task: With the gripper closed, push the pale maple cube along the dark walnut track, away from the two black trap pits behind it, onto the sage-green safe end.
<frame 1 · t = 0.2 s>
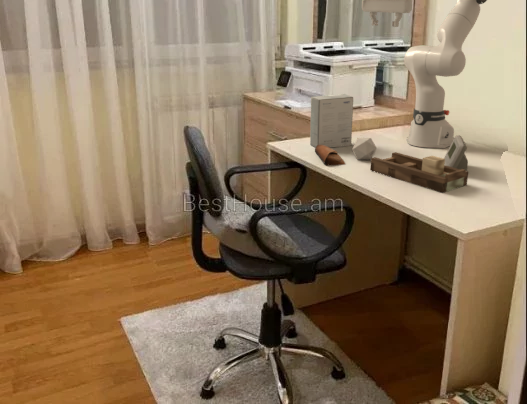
hand: (384, 26, 203), 48 cm above the table, tool pointing down, fingers open, 8 cm apart
sunglasses case: (329, 160, 216), on the table
die: (363, 159, 216), on the table
maple cube: (432, 173, 189), point 3 cm above the table, touching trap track
digital clock: (452, 169, 204), on the table
hard drive box: (330, 145, 235), on the table
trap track: (416, 177, 194), on the table
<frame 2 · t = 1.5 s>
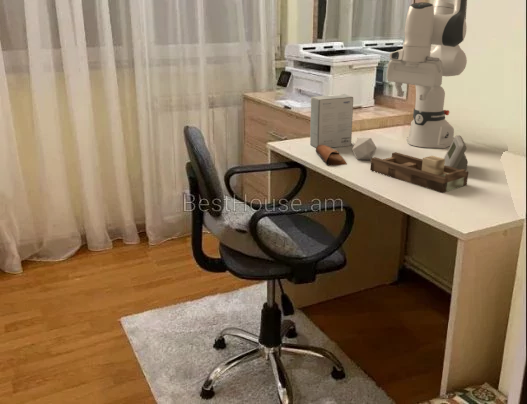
hand: (411, 98, 191), 26 cm above the table, tool pointing down, fingers open, 8 cm apart
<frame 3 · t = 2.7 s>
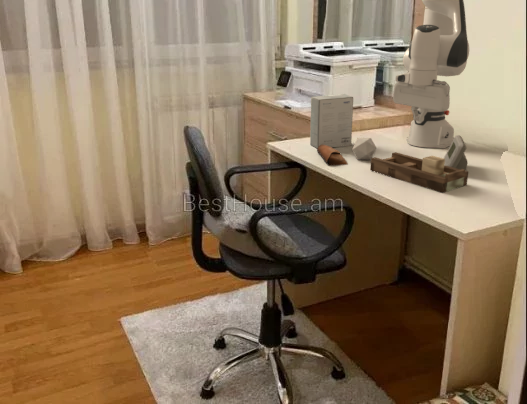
hand: (418, 120, 189), 19 cm above the table, tool pointing down, fingers closed
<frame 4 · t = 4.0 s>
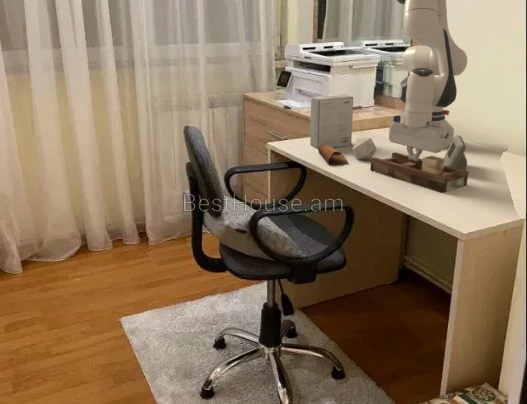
hand: (413, 160, 193), 6 cm above the table, tool pointing down, fingers closed
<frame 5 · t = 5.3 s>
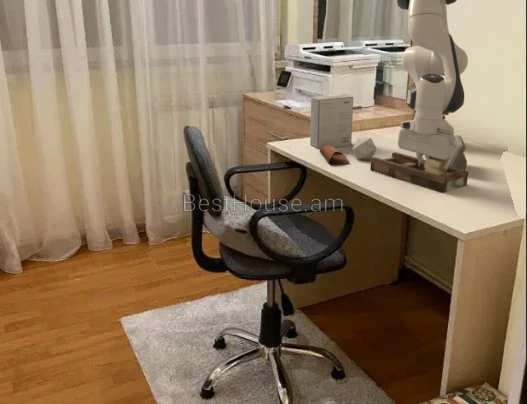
hand: (423, 167, 191), 4 cm above the table, tool pointing down, fingers closed
maple cube: (435, 173, 188), point 3 cm above the table, touching gripper
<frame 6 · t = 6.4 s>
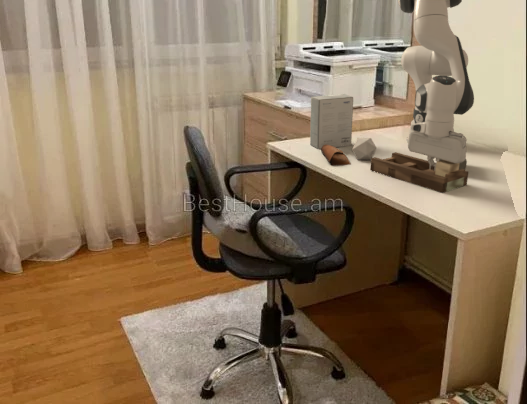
hand: (433, 170, 188), 4 cm above the table, tool pointing down, fingers closed
maple cube: (446, 177, 185), point 3 cm above the table, touching gripper, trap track
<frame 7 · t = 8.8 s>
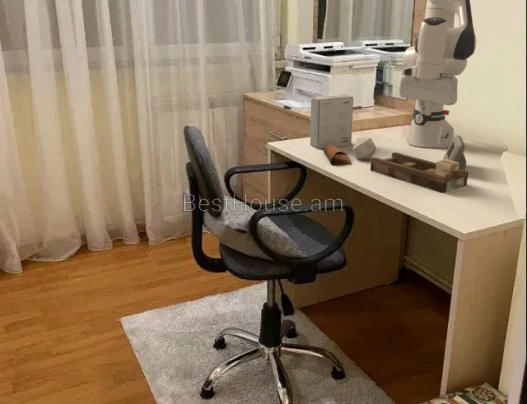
hand: (425, 114, 187), 21 cm above the table, tool pointing down, fingers closed
maple cube: (446, 177, 185), point 3 cm above the table, touching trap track
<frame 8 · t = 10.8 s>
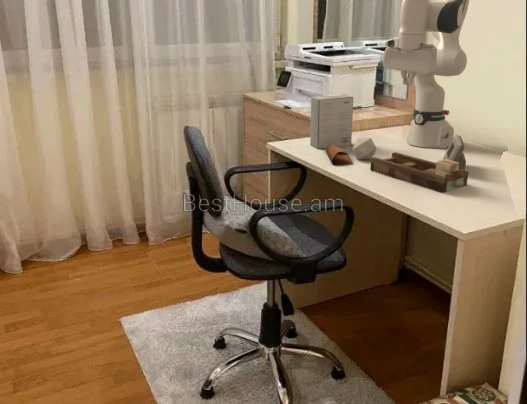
hand: (407, 84, 196), 29 cm above the table, tool pointing down, fingers closed
at the end: maple cube 0.1 cm from the target spot, point 3.0 cm above the table; maple cube tilted 0° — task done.
